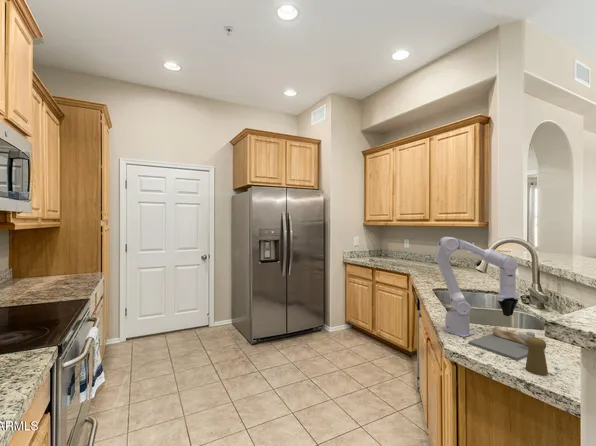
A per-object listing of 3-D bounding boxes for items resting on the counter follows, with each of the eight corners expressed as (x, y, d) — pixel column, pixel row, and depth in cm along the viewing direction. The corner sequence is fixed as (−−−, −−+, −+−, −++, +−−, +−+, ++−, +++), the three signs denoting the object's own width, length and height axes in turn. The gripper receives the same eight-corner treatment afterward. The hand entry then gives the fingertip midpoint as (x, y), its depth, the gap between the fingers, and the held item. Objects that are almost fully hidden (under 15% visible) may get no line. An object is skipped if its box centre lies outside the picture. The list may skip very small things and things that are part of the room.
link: (539, 345, 118) (539, 338, 118) (534, 347, 116) (534, 340, 116) (497, 333, 132) (497, 326, 132) (491, 335, 130) (491, 328, 130)
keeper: (518, 346, 118) (518, 333, 118) (520, 345, 119) (520, 332, 119) (533, 351, 114) (533, 337, 114) (535, 350, 115) (535, 336, 115)
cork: (537, 366, 104) (537, 334, 104) (553, 375, 98) (552, 341, 98) (520, 367, 104) (520, 335, 104) (535, 375, 97) (534, 341, 98)
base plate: (468, 343, 124) (468, 329, 124) (494, 335, 134) (494, 321, 134) (517, 360, 108) (517, 344, 108) (543, 349, 118) (543, 334, 118)
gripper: (509, 287, 125) (509, 320, 125) (526, 284, 132) (526, 315, 132) (491, 284, 131) (491, 315, 131) (508, 281, 138) (508, 311, 138)
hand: (507, 315), depth 132 cm, fingers closed
